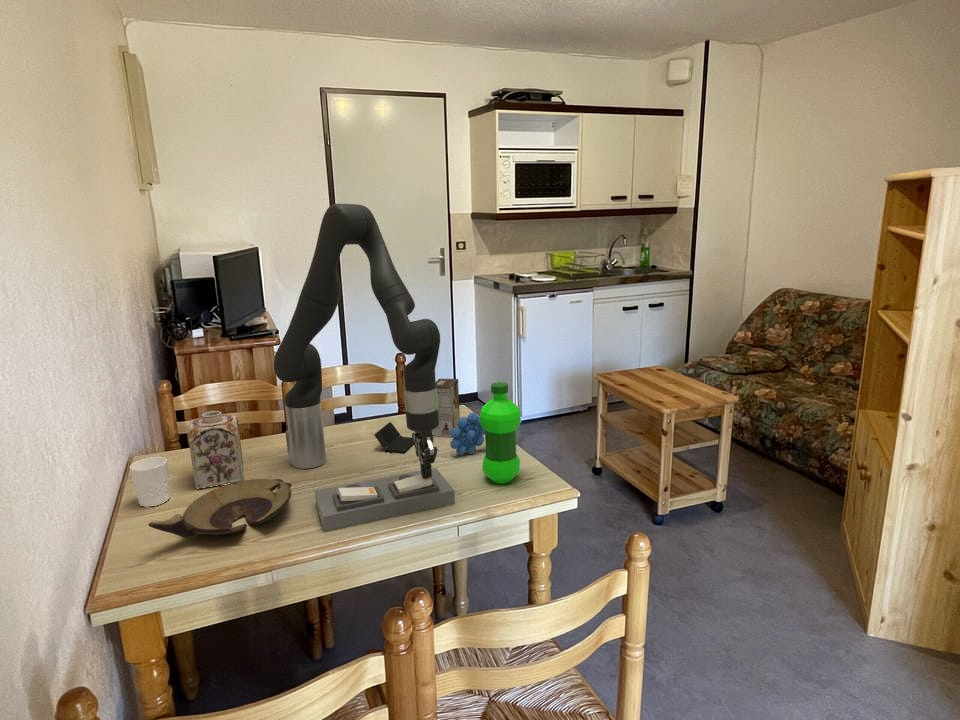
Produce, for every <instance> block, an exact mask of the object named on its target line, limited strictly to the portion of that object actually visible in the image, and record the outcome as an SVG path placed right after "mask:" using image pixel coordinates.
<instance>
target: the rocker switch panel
mask: <svg viewBox="0 0 960 720" xmlns="http://www.w3.org/2000/svg"><path fill="white" fill-rule="evenodd" d="M431 470H432V477H431V479H432V483H433V484H432V485H429V486H425V487H422V488H419V489H415V490H412V491H408V492H404V493H399V492H398V491H397V489H396V487H395V484H394V482H395V481H398V480H402V479H405V478H409V477H412V476H416V475H419V474H421V470H417V471H411V472H405V473H400V474H396V475H395V474H394V475H390V476H385V477H380V478H379V477H378V478H375V479H368V480H363V481H359V482H353V483H352V482H351V483H348V484H341V485H337V486H331V487H326V488H321V489H316V490H314V497H315V498H314V499H315V505H316V509H317V512H318V516H319V518H320V522H321V525H322V528H323V531H324V532H329V531H334V530H338V529H342V528H349V527H352V526H357V525H361V524H367V523H372V522H375V521H376V522H377V521H380V520H386V519H389V518H390V519H391V518H396V517H398V516H404V515H408V514H409V515H410V514H414V513H417V512H423V511H427V510H433V509H438V508H441V507H442V508H443V507H447V506H452V505H455V504H456V499H455V495H456V494H455V489H454V488H453V486H452V485H451V484H450V483H449V482H448V481H447V480H446V478H445V477H444V475H443V474H442V473H441V472H440V470H439V469H438V468H437V467H433V468H432V467H431ZM354 487H374V489H375V491H376V493H377V494H378V496H377V498H373V499H368V500H357V501H341V499H340V496H339V494H338V489H339V488H354Z"/></svg>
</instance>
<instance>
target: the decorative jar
mask: <svg viewBox="0 0 960 720" xmlns="http://www.w3.org/2000/svg"><path fill="white" fill-rule="evenodd" d="M187 426H188V441H187V442H188V443H189V451H190V459H191V466H192V467H191V468H192V473H193V478H194V479H193V480H194V484H195V485H194V486H195V489H196V488H203V487H210V486H216V485H223V484H228V483H235V482H239V481H244V480H245V479H244V477H245V476H244V460H243V459H244V458H243V451H242V450H243V449H242V441H241V435H240V428H239V426H240V425H239V419H238V417H237V416H236V415H234V414H233V415H232V414H226V413H222V412H221V411H219V410H211V411H206V412H204V413H202V414H201V417H198V418H195V419H194V420H191V421H189V423H188V425H187ZM223 486H224V485H223Z"/></svg>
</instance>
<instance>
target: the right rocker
mask: <svg viewBox="0 0 960 720" xmlns="http://www.w3.org/2000/svg"><path fill="white" fill-rule="evenodd" d="M394 484H395V487H396V489H397V491H398V492H399V493H404V492H408V491H412V490H415V489H419V488H422V487H425V486H429V485H432V484H433V483H432V479H431V478H429V477H428V478H425V479H423V477H422V476H421V474H419V475H416V476H412V477H409V478H405V479H402V480H398V481H395V482H394Z"/></svg>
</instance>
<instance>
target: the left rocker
mask: <svg viewBox="0 0 960 720" xmlns="http://www.w3.org/2000/svg"><path fill="white" fill-rule="evenodd" d="M338 494H339V496H340V499H341V501H357V500H368V499H373V498H377V496H378V494H377V493H376V491H375V489H374V487H354V488H339V489H338Z"/></svg>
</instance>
